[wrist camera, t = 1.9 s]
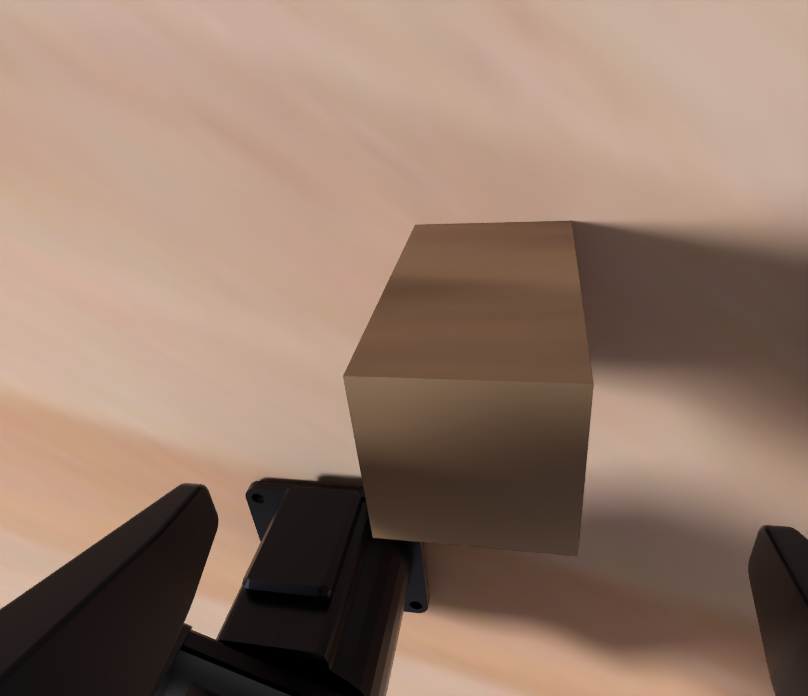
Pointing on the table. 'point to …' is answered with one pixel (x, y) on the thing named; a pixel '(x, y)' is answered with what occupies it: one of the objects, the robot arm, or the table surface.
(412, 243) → the walnut post
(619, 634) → the table surface
